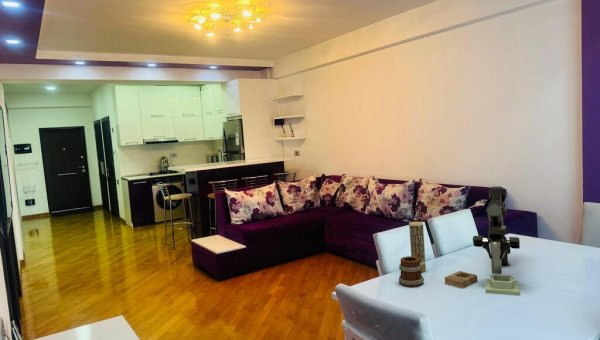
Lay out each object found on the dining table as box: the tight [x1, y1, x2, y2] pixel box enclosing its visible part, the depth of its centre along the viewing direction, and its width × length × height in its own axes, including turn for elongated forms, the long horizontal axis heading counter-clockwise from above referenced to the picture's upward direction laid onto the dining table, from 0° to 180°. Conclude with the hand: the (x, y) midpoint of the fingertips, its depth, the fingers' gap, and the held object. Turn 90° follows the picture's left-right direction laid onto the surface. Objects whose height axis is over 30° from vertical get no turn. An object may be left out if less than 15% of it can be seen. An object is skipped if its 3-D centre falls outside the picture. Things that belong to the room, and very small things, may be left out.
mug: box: [398, 252, 425, 288], centre depth 195 cm, size 12×14×15 cm
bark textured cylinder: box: [408, 221, 427, 274], centre depth 209 cm, size 7×7×25 cm
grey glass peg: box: [489, 240, 503, 275], centre depth 179 cm, size 4×4×14 cm
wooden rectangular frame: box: [444, 270, 478, 289], centre depth 190 cm, size 12×9×3 cm
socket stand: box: [485, 273, 521, 296], centre depth 179 cm, size 13×13×4 cm
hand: (495, 259), depth 178 cm, fingers closed on grey glass peg, 4 cm apart
